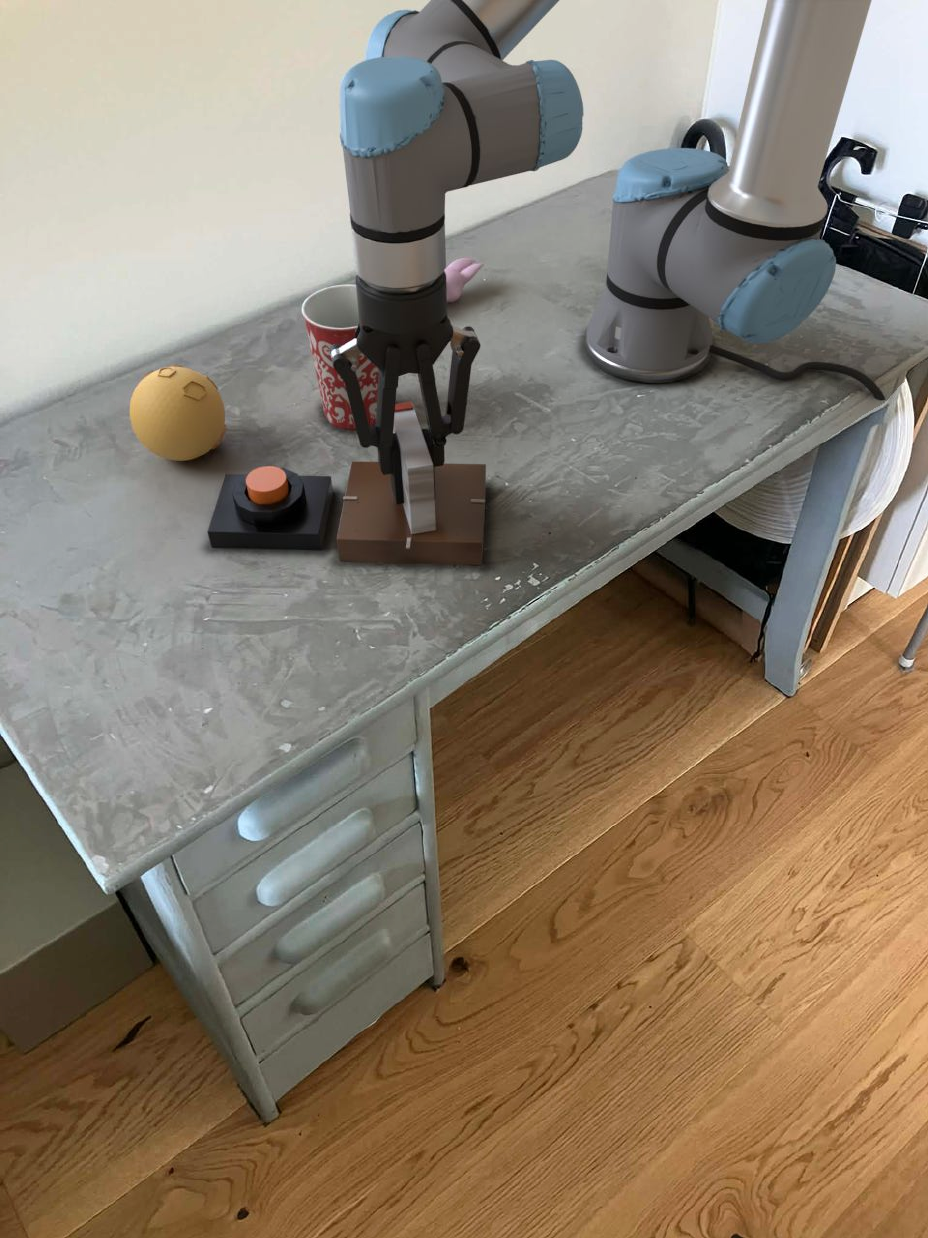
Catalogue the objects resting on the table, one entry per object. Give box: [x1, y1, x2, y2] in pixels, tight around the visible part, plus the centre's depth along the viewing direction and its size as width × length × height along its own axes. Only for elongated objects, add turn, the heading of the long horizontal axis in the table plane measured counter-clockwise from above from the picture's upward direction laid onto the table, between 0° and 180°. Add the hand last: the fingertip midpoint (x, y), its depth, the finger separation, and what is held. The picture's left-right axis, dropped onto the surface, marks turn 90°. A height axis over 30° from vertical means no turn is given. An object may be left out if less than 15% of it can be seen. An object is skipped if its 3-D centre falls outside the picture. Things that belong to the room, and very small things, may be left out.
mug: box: [300, 284, 379, 431], centre depth 113 cm, size 13×9×14 cm
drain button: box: [246, 465, 289, 504], centre depth 101 cm, size 4×4×2 cm
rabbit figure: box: [444, 257, 485, 304], centre depth 131 cm, size 6×6×15 cm
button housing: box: [207, 467, 334, 551], centre depth 103 cm, size 11×9×4 cm
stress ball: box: [129, 365, 227, 462], centre depth 109 cm, size 10×10×10 cm
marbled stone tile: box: [393, 401, 436, 534], centre depth 99 cm, size 10×2×8 cm, turn 13°
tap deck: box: [336, 461, 487, 566], centre depth 103 cm, size 14×14×3 cm
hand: (413, 492), depth 101 cm, fingers closed on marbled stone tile, 2 cm apart
